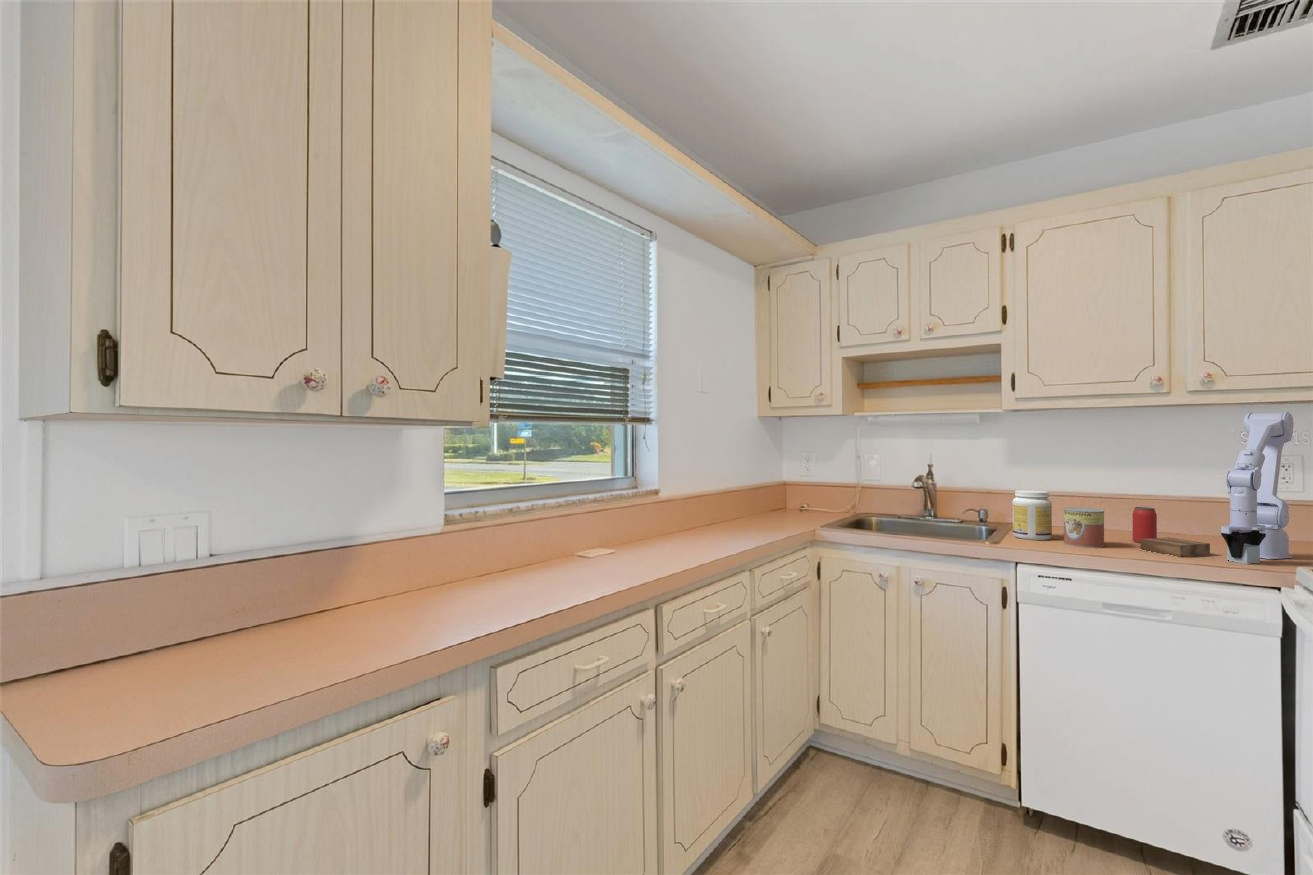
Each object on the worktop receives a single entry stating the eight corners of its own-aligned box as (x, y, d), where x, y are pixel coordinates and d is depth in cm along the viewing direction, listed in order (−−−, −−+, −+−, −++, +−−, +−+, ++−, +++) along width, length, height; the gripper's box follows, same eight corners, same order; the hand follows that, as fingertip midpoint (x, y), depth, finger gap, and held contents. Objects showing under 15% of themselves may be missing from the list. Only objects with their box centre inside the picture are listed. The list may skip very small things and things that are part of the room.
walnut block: (1168, 549, 200) (1168, 537, 200) (1209, 556, 189) (1209, 543, 189) (1140, 551, 197) (1140, 539, 197) (1180, 558, 186) (1180, 545, 186)
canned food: (1056, 543, 210) (1056, 508, 210) (1077, 541, 214) (1077, 507, 214) (1090, 549, 199) (1090, 512, 199) (1112, 546, 204) (1112, 510, 204)
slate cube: (1239, 560, 181) (1239, 543, 181) (1259, 563, 177) (1259, 546, 177) (1227, 560, 180) (1227, 543, 180) (1247, 564, 175) (1247, 546, 175)
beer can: (1161, 544, 207) (1161, 509, 207) (1139, 544, 208) (1139, 508, 208) (1149, 541, 213) (1149, 507, 213) (1128, 540, 215) (1128, 506, 215)
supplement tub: (1050, 536, 223) (1049, 490, 223) (1053, 541, 213) (1053, 493, 213) (1011, 534, 229) (1011, 489, 229) (1013, 539, 218) (1013, 492, 218)
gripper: (1241, 513, 173) (1241, 561, 173) (1278, 511, 176) (1278, 558, 176) (1213, 510, 180) (1213, 556, 180) (1249, 508, 183) (1248, 554, 183)
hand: (1243, 557), depth 178 cm, fingers closed on slate cube, 5 cm apart
